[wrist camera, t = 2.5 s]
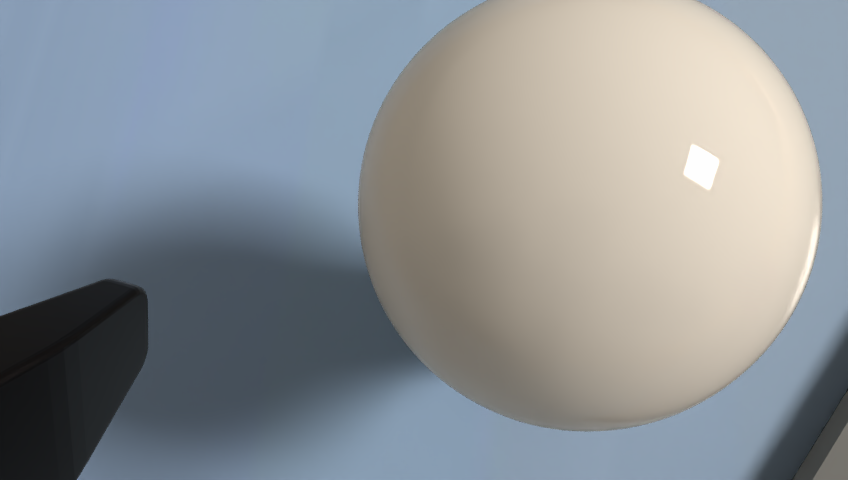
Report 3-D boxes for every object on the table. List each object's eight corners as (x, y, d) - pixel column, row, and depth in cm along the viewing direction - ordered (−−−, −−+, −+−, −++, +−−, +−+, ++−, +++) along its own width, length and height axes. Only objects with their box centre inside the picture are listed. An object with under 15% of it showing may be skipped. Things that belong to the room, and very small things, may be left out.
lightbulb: (361, 228, 20) (254, -35, 9) (600, 144, 20) (763, -201, 10) (449, 481, 18) (444, 517, 8) (707, 385, 19) (1047, 291, 8)
